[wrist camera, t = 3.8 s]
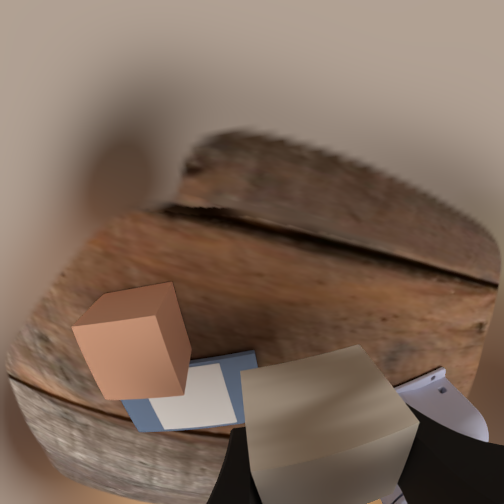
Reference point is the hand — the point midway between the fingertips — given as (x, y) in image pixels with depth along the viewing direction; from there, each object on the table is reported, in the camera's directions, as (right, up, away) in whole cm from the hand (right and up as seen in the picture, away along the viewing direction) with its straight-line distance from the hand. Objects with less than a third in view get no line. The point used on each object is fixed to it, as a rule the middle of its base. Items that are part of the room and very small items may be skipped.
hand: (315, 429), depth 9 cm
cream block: (0, 0, +1) cm, 2 cm away
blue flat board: (-7, -3, +9) cm, 12 cm away
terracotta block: (-9, +2, +7) cm, 12 cm away
